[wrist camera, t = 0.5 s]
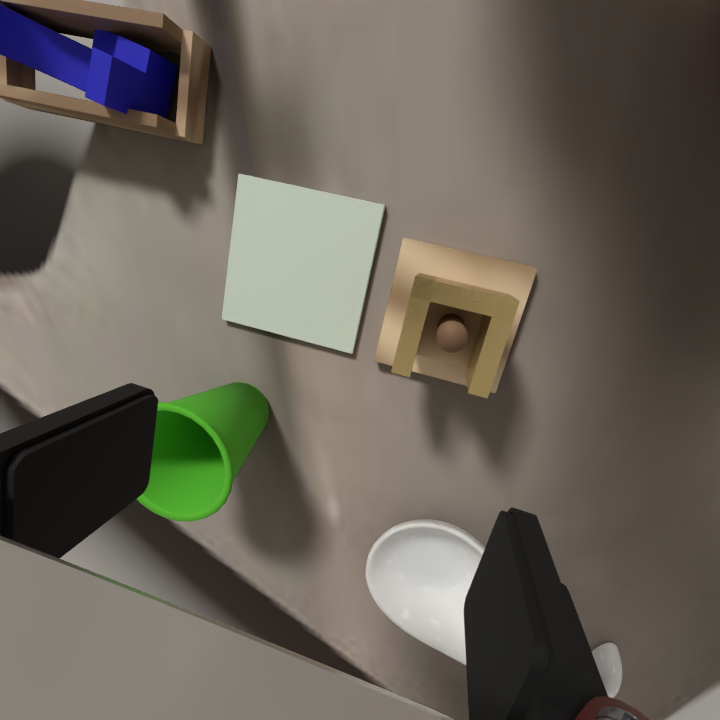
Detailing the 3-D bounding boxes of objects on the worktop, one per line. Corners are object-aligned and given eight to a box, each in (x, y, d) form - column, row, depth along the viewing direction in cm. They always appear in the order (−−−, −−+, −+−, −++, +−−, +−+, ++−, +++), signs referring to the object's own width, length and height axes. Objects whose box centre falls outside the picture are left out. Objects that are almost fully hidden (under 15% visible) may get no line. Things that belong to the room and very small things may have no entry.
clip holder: (25, 15, 33) (-37, -19, 29) (211, 47, 31) (174, 15, 27) (27, 108, 35) (-30, 89, 31) (202, 144, 33) (166, 129, 29)
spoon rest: (351, 563, 41) (332, 625, 34) (410, 476, 37) (401, 527, 30) (562, 690, 40) (586, 780, 33) (644, 613, 36) (690, 698, 29)
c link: (419, 272, 27) (415, 276, 24) (509, 293, 27) (519, 300, 23) (398, 356, 29) (390, 372, 25) (482, 378, 28) (487, 398, 25)
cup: (261, 468, 40) (196, 545, 30) (186, 413, 40) (95, 471, 30) (308, 400, 37) (254, 459, 27) (227, 341, 37) (142, 377, 27)
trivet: (242, 175, 33) (238, 173, 33) (385, 205, 32) (384, 204, 31) (225, 317, 37) (221, 318, 36) (353, 352, 35) (352, 353, 34)
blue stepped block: (177, 66, 31) (116, 29, 26) (164, 128, 33) (103, 105, 27) (46, 5, 32) (-40, -43, 27) (39, 68, 34) (-44, 35, 28)
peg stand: (404, 237, 32) (389, 233, 24) (535, 267, 31) (568, 273, 22) (376, 358, 35) (354, 392, 26) (494, 389, 33) (509, 435, 25)
